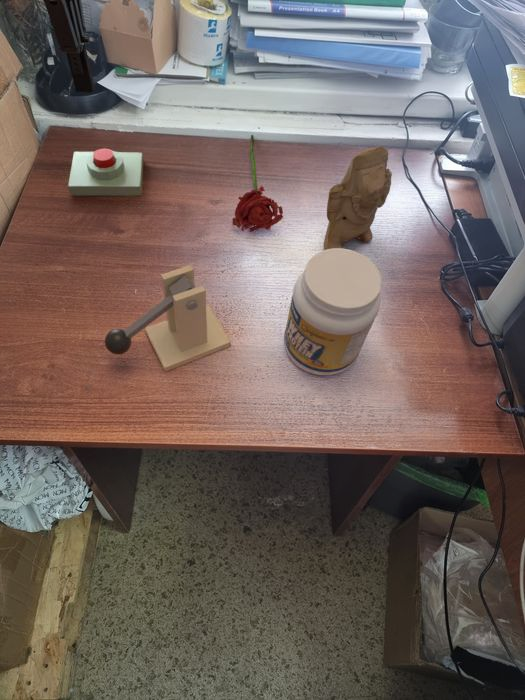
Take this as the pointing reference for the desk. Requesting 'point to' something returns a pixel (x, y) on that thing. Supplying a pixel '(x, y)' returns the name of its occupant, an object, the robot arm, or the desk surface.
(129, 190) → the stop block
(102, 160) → the stop button
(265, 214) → the flower
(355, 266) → the supplement tub
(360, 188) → the figurine
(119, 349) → the switch lever
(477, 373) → the desk surface
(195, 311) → the switch bracket
